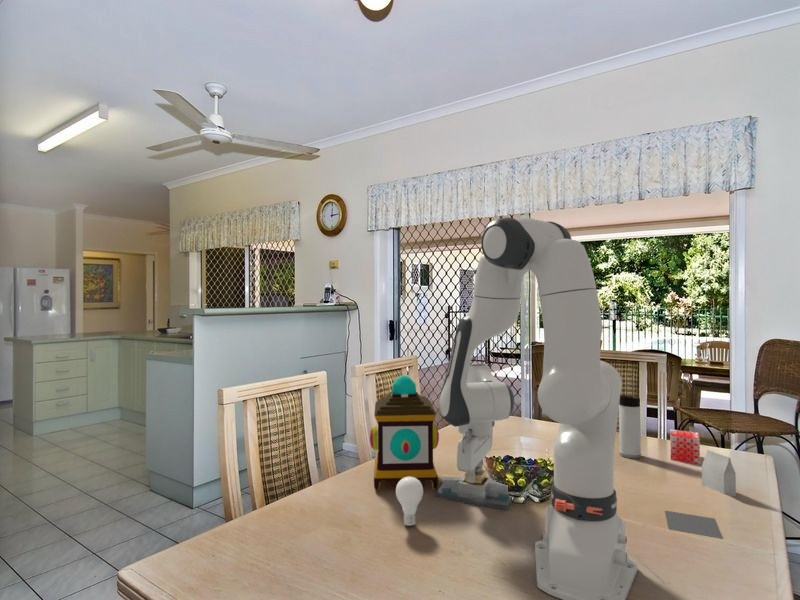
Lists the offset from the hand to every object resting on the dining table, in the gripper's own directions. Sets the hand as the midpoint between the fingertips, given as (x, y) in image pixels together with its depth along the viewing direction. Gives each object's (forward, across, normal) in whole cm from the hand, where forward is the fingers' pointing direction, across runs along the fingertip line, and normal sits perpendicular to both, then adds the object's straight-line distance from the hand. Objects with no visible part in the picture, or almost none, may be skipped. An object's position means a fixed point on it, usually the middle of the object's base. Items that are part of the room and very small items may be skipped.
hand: (475, 477), depth 122 cm
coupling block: (+4, 0, 0) cm, 4 cm away
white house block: (+5, +30, -58) cm, 66 cm away
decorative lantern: (+5, +3, +22) cm, 23 cm away
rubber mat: (+5, +4, -49) cm, 49 cm away
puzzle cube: (+5, +57, -53) cm, 78 cm away
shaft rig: (+5, 0, 0) cm, 5 cm away
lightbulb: (+5, -22, +9) cm, 24 cm away
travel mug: (+5, +52, -37) cm, 64 cm away
